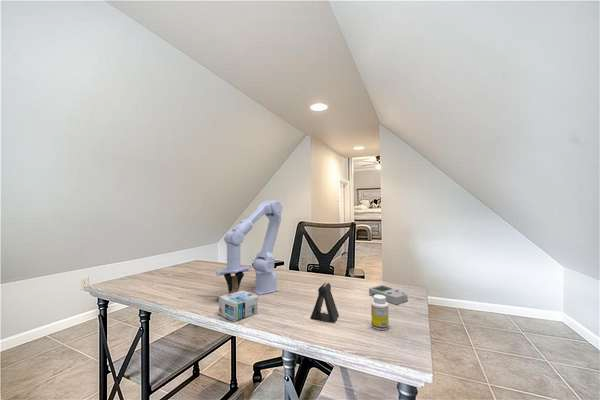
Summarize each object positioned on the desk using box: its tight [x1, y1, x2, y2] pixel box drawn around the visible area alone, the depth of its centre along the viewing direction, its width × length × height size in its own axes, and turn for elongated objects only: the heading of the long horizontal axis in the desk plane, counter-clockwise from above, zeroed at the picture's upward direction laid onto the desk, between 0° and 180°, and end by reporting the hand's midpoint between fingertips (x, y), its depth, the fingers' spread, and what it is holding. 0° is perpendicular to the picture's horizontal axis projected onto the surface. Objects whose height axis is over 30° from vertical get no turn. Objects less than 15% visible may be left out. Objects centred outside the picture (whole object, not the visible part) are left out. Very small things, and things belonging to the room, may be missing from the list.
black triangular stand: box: [310, 282, 339, 324], centre depth 97 cm, size 9×6×12 cm, turn 67°
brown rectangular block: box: [227, 275, 239, 295], centre depth 116 cm, size 2×6×9 cm, turn 33°
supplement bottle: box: [370, 295, 390, 331], centre depth 89 cm, size 6×6×10 cm
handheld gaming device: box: [368, 284, 409, 305], centre depth 117 cm, size 9×15×4 cm, turn 33°
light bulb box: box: [218, 290, 259, 322], centre depth 101 cm, size 11×7×11 cm
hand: (233, 290), depth 115 cm, fingers closed on brown rectangular block, 2 cm apart
